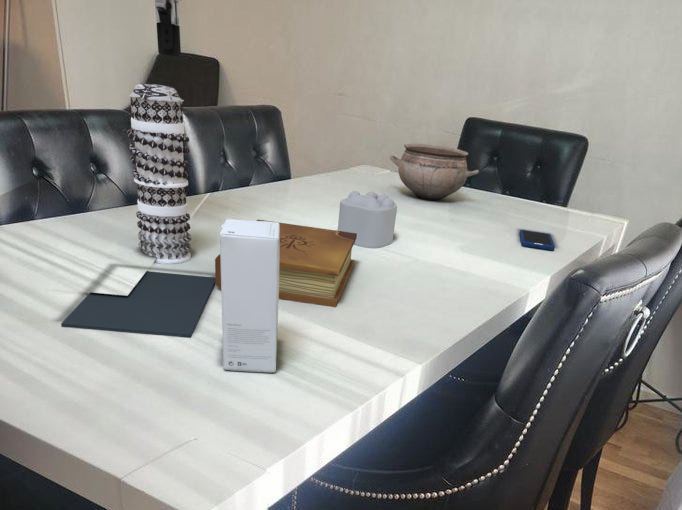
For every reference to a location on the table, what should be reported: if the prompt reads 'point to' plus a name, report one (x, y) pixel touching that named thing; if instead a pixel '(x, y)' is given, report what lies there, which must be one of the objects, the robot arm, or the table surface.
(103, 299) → the mat
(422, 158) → the cooking pot
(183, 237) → the decorative tower
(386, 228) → the lumpy-topped squat cylinder
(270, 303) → the cosmetic box
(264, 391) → the table surface
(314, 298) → the diary
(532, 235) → the cell phone
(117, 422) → the table surface
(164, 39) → the robot arm
